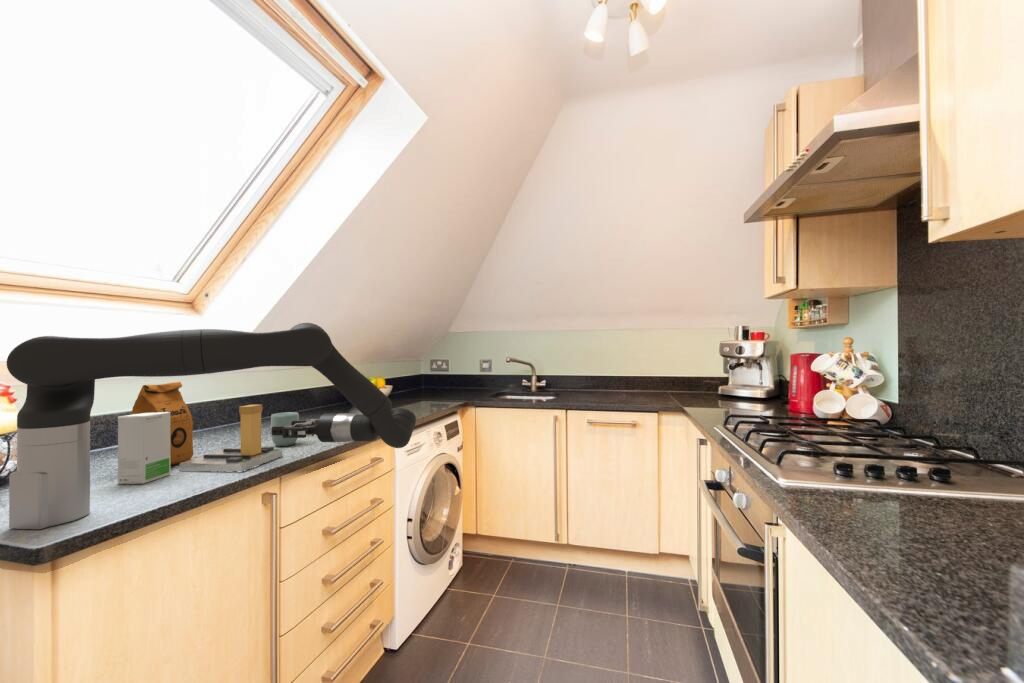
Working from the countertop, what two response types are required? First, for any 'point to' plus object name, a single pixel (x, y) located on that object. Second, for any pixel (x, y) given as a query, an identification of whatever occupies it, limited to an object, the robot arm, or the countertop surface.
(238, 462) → the plate
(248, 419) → the handle
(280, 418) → the cup
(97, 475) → the countertop surface
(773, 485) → the countertop surface
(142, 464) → the skincare box
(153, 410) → the coffee package
